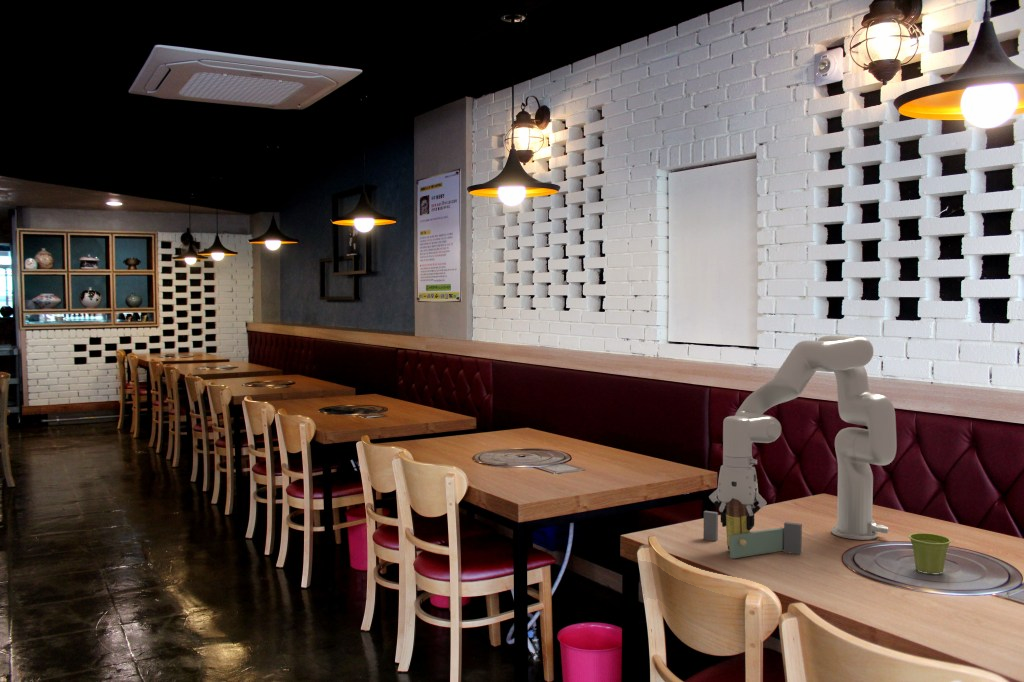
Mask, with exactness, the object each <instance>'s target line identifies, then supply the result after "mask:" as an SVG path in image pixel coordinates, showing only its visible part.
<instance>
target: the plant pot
mask: <svg viewBox="0 0 1024 682" xmlns="http://www.w3.org/2000/svg"><path fill="white" fill-rule="evenodd" d="M908 538H909V539H910V544H911V545H912V550H913V557H914V563H915V564H914V566H915V570H916V569H917V570H919V571H922V572H927V573H940V572H943V573H944V569H945V565H946V564H945V563H946V557H947V553H948V551H947V550H948V549H949V546H950V544H951V542H952V540H951V539H950V538H949V537H947V536H943V535H941V534H935V533H929V532H927V533H926V532H916V533H915V532H914V533H911V534H909V535H908ZM917 570H916V571H917Z"/></svg>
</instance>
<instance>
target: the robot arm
mask: <svg viewBox="0 0 1024 682" xmlns="http://www.w3.org/2000/svg"><path fill="white" fill-rule="evenodd" d="M873 357H874V346H873V344H872V343H871V341H870V340H868V338H865V336H864V337H863V336H855V335H854V336H853V335H851V336H850V335H836V334H834V335H832V334H831V335H825V336H822V337H820V338H818V339H817V340H801V341H799V342H798V343H796V345H795V346H793V348H792V350H790V352H789V354H788V355H787V357H786V358H785V360H784V362H783V363H782V364H781V366H780V367H779V369H778V370H777V372H776V374H775V375H774V376H773V378H771V380H769V381H768V382H766V383H764V384H762V385H761V386H760V387H759V388H757V389H756V390H754V391H752V393H750V394H749V395H748V396H747V397H746V398H745V399H744V401H743V402H742V404H741V405H740V406H739V408H738V409H737V411H736V412H735V415H729V416H727V417H725V418H724V419H723V423H722V425H723V426H722V442H723V443H722V444H723V445H722V449H723V450H722V465H720V468H719V469H720V470H719V472H718V473H719V474H718V483H717V488H716V490H714V491H713V492H712V493H711V494H710V495H709V496H708V498H709V500H710V501H711V502H712V503H713V504H714V506H715V507H716V508H717V509H718V511H719V512H720V523H721V527H722V528H723V527H724V528H725V527H726V503H727V502H729V501H731V499H732V498H734V499H737V500H739V501H740V502H741V503H742V504H743V505H746V508H747V511H748V516H747V530H750V531H751V530H752V529H753V528H754V527H755V514H756V513H758V512H759V511H760V510H761V509H762V508H763V507H764V506H766V505H767V504H768V503H767V501H766V499H765V498H763V497H762V495H761V494H760V493H759V487H758V486H759V485H758V478H757V477H758V476H757V471H756V470H757V469H756V467H755V466H754V465H758V459H755V458H753V453H752V452H753V451H752V450H753V449H752V448H753V443H761V444H763V443H764V444H769V443H773V442H775V441H777V439H778V438H779V437H780V436H781V434H782V425H781V423H780V421H779V420H778V419H777V418H776V417H773V416H771V415H767V414H764V413H765V412H767V411H768V410H769V409H771V408H772V407H775V406H777V405H779V404H782V403H783V404H784V403H786V402H789V401H792V400H795V399H796V398H798V397H800V396H801V394H802V393H803V392H804V390H805V388H806V387H807V385H808V383H810V381H811V379H812V378H813V376H814V375H815V373H816V372H824V373H825V372H826V373H833V374H834V376H835V380H836V387H837V388H836V392H837V408H838V414H839V417H840V419H841V420H842V421H844V422H845V423H848V424H853V425H857V426H865V427H867V429H866V428H860V427H856V426H855V427H854V426H853V427H846V428H842V429H840V430H839V431H838V433H837V434H836V436H835V438H834V448H835V455H836V460H837V461H836V462H837V505H836V506H837V507H836V508H837V512H836V513H837V517H836V518H837V520H836V521H837V522H836V524H837V525H834V526H832V527H831V530H830V531H831V533H832V535H835V536H837V537H840V538H845V539H851V540H859V541H861V540H862V541H867V540H874V539H876V538H878V536H879V533H882V534H889V530H890V529H889V528H890V527H889V526H886V524H885V525H884V524H877V523H876V522H875V520H876V519H875V518H874V519H873V497H874V495H873V493H874V492H873V491H874V490H873V489H874V475H873V471H872V468H871V465H876V466H887V465H889V464H890V463H891V464H892V462H893V461H894V459H895V458H896V454H897V446H898V445H897V421H896V420H897V419H896V411H895V407H894V404H893V402H892V401H891V400H890V399H889V397H887V396H885V395H883V394H879V393H871V391H870V388H869V381H868V380H869V378H868V371H867V370H866V368H865V366H866V365H868V364H869V363H870V362H871V360H872V358H873ZM870 464H871V465H870ZM732 481H734V482H737V486H736V487H733V486H732ZM757 502H758V504H757V505H756V506H755V505H754V504H755V503H757Z"/></svg>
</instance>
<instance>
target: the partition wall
mask: <svg viewBox="0 0 1024 682" xmlns="http://www.w3.org/2000/svg"><path fill="white" fill-rule="evenodd" d="M802 526H803V524H802V523H798V522H792V521H791V522H790V521H785V522H784V524H783V528H784V550H783V552H784V551H785V552H784V553H787V552H791V553H790V554H794V553H797V554H796V555H801V554H802V545H803V544H802V543H803V542H802V541H803V540H802V539H803V537H802V536H803V535H802V533H803V531H802V530H803V527H802ZM702 538H703V540H704V541H705V540H706V541H711V542H717V541H719V540H718V539H719V512H717V511H709V510H704V511H703V537H702Z"/></svg>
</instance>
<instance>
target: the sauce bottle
mask: <svg viewBox="0 0 1024 682" xmlns="http://www.w3.org/2000/svg"><path fill="white" fill-rule="evenodd" d="M732 486H733V487H736V486H737V482H734V481H732ZM747 516H748V511H747V508H746V505H743V504H742V503H741V502H740V501H739V500H737V499H734V498H732V499H731V501H729V502H727V503H726V526H725V527H726V528H725V530H726V545H727V549H728V551H729V552H730V535H734V534H741V533H747V532H751V530H747Z"/></svg>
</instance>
